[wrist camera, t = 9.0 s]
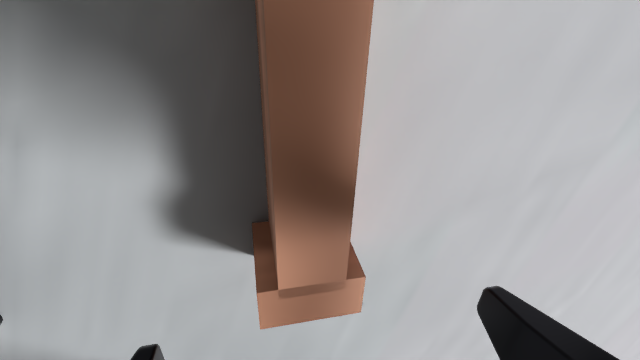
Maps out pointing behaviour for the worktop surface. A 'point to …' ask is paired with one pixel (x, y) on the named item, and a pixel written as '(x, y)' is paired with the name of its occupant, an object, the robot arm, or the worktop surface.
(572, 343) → the robot arm
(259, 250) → the block
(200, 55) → the worktop surface
